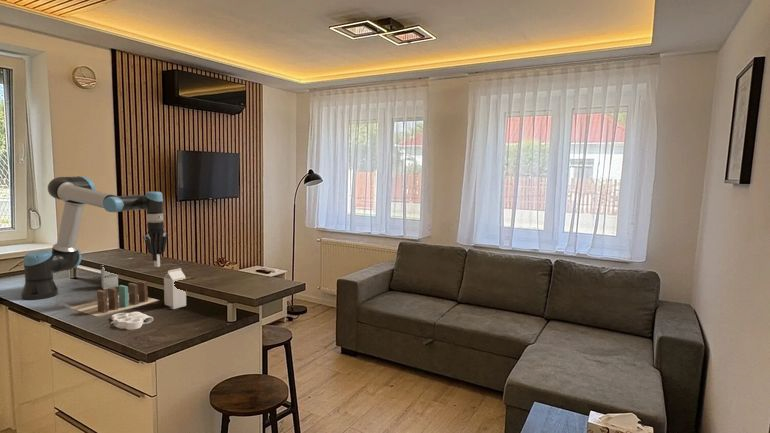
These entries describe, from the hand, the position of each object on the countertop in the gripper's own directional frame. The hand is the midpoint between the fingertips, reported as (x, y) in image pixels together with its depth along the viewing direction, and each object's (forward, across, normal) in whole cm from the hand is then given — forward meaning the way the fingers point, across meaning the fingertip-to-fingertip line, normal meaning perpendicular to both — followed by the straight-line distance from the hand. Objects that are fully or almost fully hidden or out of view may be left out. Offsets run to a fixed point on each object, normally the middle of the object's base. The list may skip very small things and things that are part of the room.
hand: (157, 266), depth 229 cm
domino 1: (+16, -28, 0) cm, 32 cm away
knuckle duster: (+18, -29, -21) cm, 40 cm away
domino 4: (+16, -13, 0) cm, 21 cm away
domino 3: (+16, -18, 0) cm, 24 cm away
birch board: (+18, -18, +7) cm, 26 cm away
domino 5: (+16, -8, 0) cm, 18 cm away
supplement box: (+17, 0, +42) cm, 46 cm away
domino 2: (+16, -23, 0) cm, 28 cm away
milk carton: (+18, -3, -18) cm, 25 cm away
